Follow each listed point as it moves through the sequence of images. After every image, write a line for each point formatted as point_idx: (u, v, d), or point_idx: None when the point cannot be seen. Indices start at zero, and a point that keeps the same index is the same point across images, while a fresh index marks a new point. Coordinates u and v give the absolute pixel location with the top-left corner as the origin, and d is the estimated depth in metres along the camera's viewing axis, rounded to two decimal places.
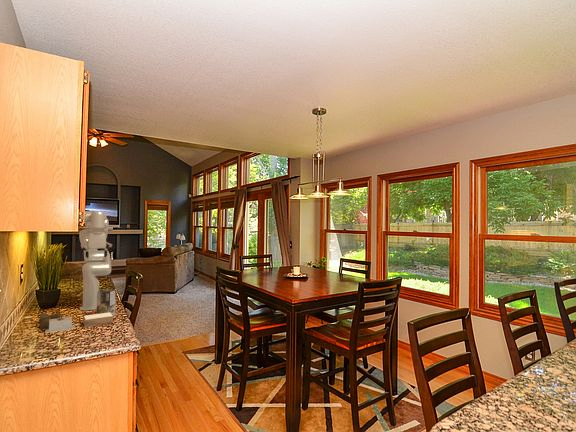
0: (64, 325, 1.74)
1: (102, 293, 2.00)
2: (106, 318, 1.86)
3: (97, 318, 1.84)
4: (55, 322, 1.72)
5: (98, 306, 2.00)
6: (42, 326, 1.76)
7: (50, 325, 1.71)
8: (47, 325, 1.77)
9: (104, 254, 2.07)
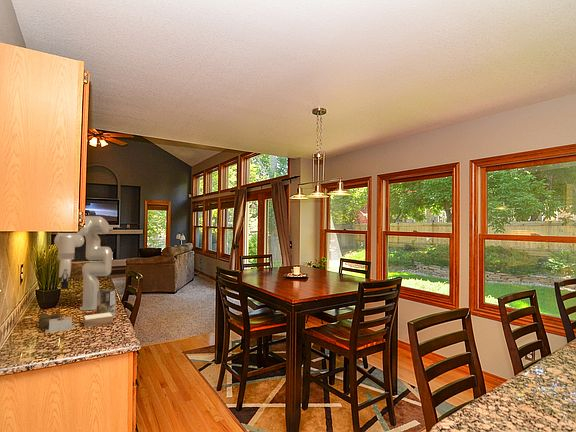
0: (64, 325, 1.74)
1: (102, 293, 2.00)
2: (106, 318, 1.86)
3: (97, 318, 1.84)
4: (55, 322, 1.72)
5: (98, 306, 2.00)
6: (41, 326, 1.76)
7: (50, 325, 1.71)
8: (46, 325, 1.77)
9: None
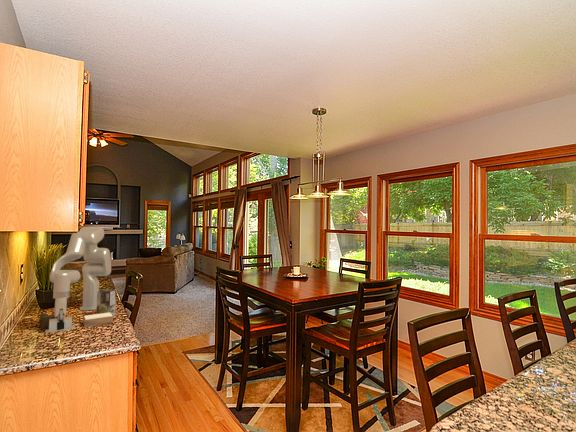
0: (64, 325, 1.74)
1: (102, 293, 2.00)
2: (106, 318, 1.86)
3: (97, 318, 1.84)
4: (55, 322, 1.72)
5: (98, 306, 2.00)
6: (43, 326, 1.76)
7: (50, 325, 1.71)
8: (48, 325, 1.77)
9: None
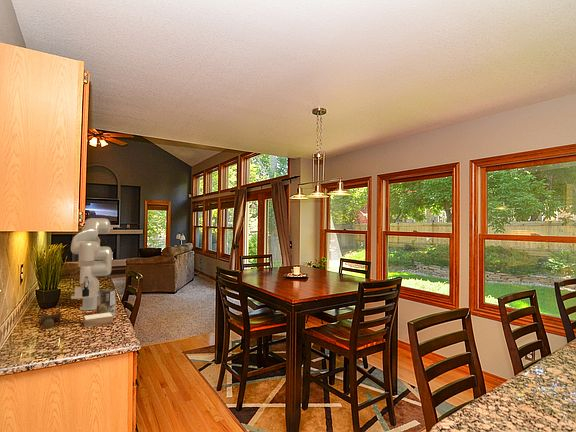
0: None
1: (102, 293, 2.00)
2: (106, 318, 1.86)
3: (97, 318, 1.84)
4: (80, 289, 1.80)
5: (98, 306, 2.00)
6: (45, 326, 1.76)
7: (76, 292, 1.79)
8: (50, 325, 1.77)
9: None
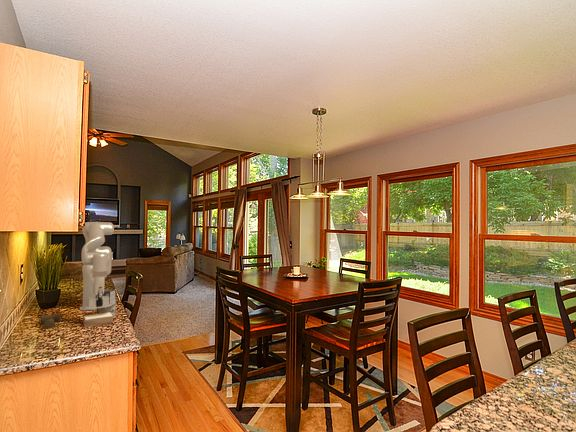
0: None
1: None
2: (106, 318, 1.86)
3: (97, 318, 1.84)
4: (94, 299, 1.84)
5: None
6: (46, 326, 1.76)
7: (90, 302, 1.83)
8: (51, 325, 1.77)
9: None
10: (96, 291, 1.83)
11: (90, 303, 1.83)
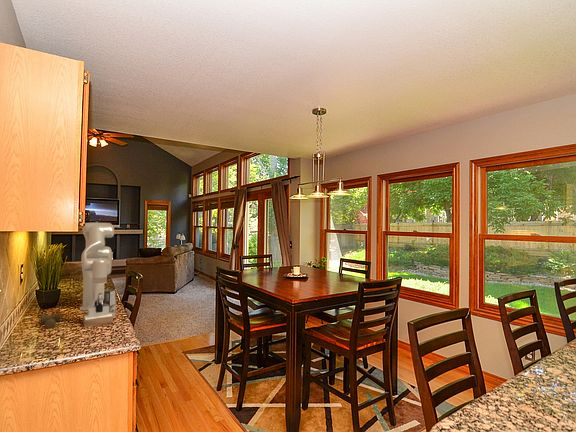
0: None
1: None
2: (106, 318, 1.86)
3: (97, 318, 1.84)
4: (94, 308, 1.84)
5: None
6: (47, 326, 1.76)
7: (90, 311, 1.83)
8: (52, 325, 1.77)
9: None
10: (96, 297, 1.83)
11: (90, 312, 1.83)
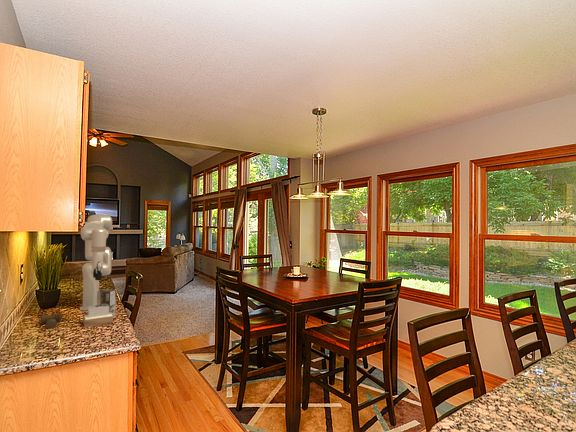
0: (102, 311, 1.87)
1: (102, 293, 2.00)
2: (106, 318, 1.86)
3: (97, 318, 1.84)
4: (94, 308, 1.84)
5: None
6: (48, 326, 1.76)
7: (90, 311, 1.83)
8: (53, 325, 1.77)
9: None
10: (95, 266, 1.85)
11: (90, 312, 1.83)
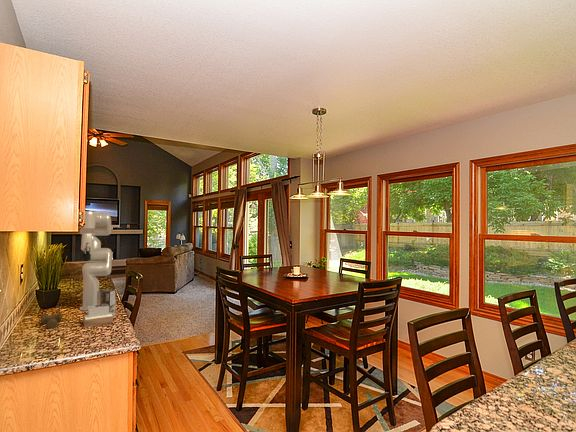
0: (102, 311, 1.87)
1: (102, 293, 2.00)
2: (106, 318, 1.86)
3: (97, 318, 1.84)
4: (94, 308, 1.84)
5: None
6: (49, 326, 1.76)
7: (90, 311, 1.83)
8: (54, 325, 1.78)
9: None
10: (84, 246, 1.89)
11: (90, 312, 1.83)
